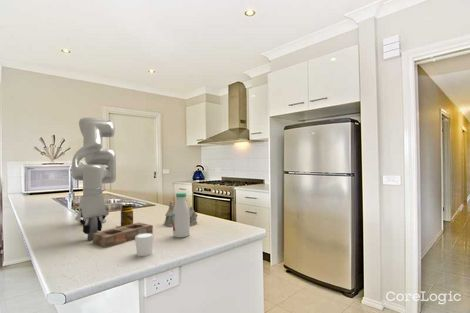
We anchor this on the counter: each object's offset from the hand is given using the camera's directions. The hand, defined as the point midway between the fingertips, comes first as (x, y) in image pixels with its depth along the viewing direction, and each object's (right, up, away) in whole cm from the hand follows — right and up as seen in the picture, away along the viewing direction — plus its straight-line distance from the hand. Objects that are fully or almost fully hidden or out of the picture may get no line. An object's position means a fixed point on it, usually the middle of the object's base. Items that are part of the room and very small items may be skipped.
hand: (92, 231), depth 117 cm
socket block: (+14, -3, +2) cm, 14 cm away
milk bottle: (+39, -3, +5) cm, 40 cm away
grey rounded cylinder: (0, -3, 0) cm, 3 cm away
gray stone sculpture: (+34, -4, +27) cm, 44 cm away
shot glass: (+30, -3, -18) cm, 35 cm away
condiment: (+6, -4, +20) cm, 21 cm away
